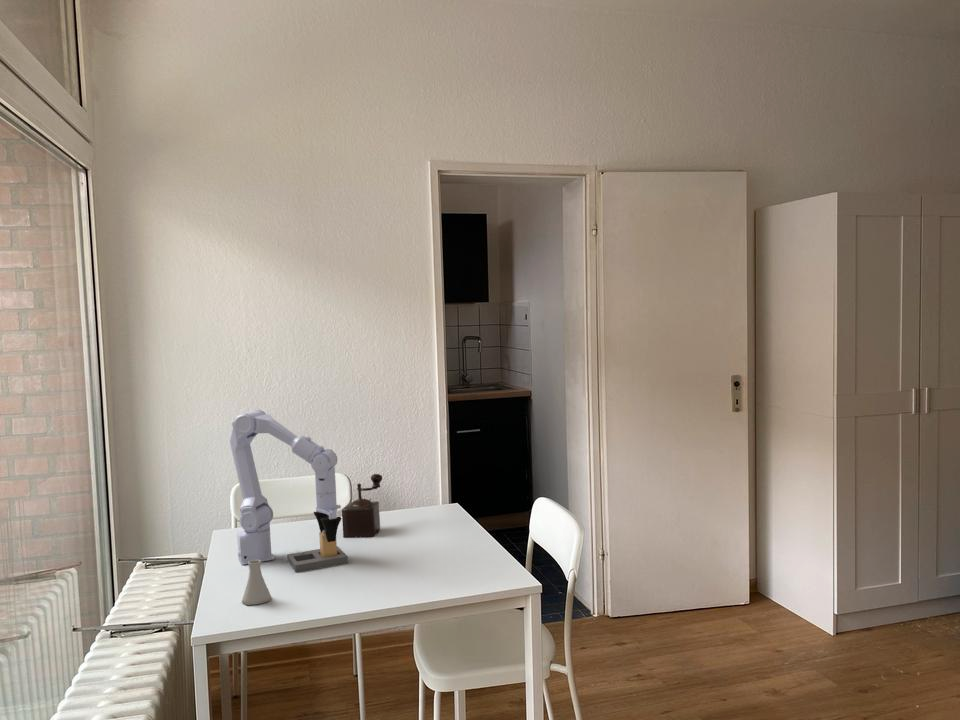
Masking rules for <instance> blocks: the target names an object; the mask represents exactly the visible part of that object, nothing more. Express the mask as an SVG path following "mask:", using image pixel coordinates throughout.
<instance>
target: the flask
mask: <svg viewBox="0 0 960 720" xmlns="http://www.w3.org/2000/svg"><path fill="white" fill-rule="evenodd" d="M261 564H262V562H261V560H251V561H249V562H248V564H247V565H248V569H249V573H248V579H247V582H246V586H245V589H244V592H243V597H242V598H241V599H242V600H241V603H242V604H244V605H245V606H250V605H251V606H252V605H254V606H255V605H260V604H264V603H267V602H270V600H271V599H272V595H271V592H270V590H269V588H268V587H267V584H266V582H265V580H264V577H263V573H262V570H261Z"/></svg>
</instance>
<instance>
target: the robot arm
mask: <svg viewBox="0 0 960 720" xmlns="http://www.w3.org/2000/svg"><path fill="white" fill-rule="evenodd" d="M231 426H232V431H231V435H230V439H229V444H230V448H231V452H232V457H233V462H234V466H235V470H236V476H237V479H238V482H239V483H238V484H239V487H240V492H241V496H242V502H241V505H240V508H239V511H240V517H239V524H240V526H241V528H242V530H243V531H238V532H237V557H238V560H239V562H240V564H241V566H243V565H244V566H245V565H248V562H249V561H251V560H261V563H262V562H267V561H274V560H276V559H275V556H274V554H273V553H272V542H271V541H272V540H271V522H272V520H273V519H274V511H273V509H272V507H271V506H270V504H269V502H268V499H267V498H266V497H265V495H263V494H262V490H261V487H260V485H261V484H260V481H259V477H258V472H257V468H256V464H255V459H254V455H253V450H252V447H251V443H252V441H253V440H254V439H255V437H256V436H257V435H258V434H269V435H271V436H273V437H274V438H276V439H277V440H279V441H281V442H283V443H285V444H286V445H288V446H290V447H291V452H292V453H293V454H294V455H296V456H297V457H299V458H301V459H302V460H303V461H305V462H306V463H308V464H310V466H311V468H312V470H313V471H314V475H315V476H314V478H315V498H316V508H315V510H316V511H313V515H314V517H315V518H316V521H317V523H318V527H319V528H318V529H319V533H321V532H323V531H322V530H325V533H326V538H327V541H328V542H333V541H335V539H336V540H337V534H338V528H339V525H340V523H341V521H342V516H337V510H338V509H341V507H342V506H341V505H340V504H337V489H336V488H337V485H336V470H335V469H336V467H335V466H336V465H337V464H338V456H337V454H336V453H335V452H334V451H333V449H331V448H327V449H326V448H325V447H324V446H323V445H321V446H320V445H319V444H317V443H316V442H314V441H312V437H310V436H306V435H302V436H297V435H296V434H295V433H293V432H292V431H290V430H289V429H288V428H286V427H285V426H284V425H283V424H281V423H280V422H278V421H277V420H276V419H274V418H273V416H272V415H271V414H268V413H266V412H265V411H264V410H261V409H255V410H253V411H248V412H242V413H240V414H238V415H237V416H236V417H235V419H233V421H232V422H231Z"/></svg>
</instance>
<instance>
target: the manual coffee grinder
mask: <svg viewBox="0 0 960 720" xmlns="http://www.w3.org/2000/svg"><path fill="white" fill-rule="evenodd" d="M382 480H383V475H381V474H380V473H373V474H372V475H371V476H370V481H371V482H372V487H365V488H362V484H361V483H357V484H356V486H357V488H356V490H357V492H358V494H357V495H358V499H356V500H354V501H352V502H349V503H347V505H345V506H344V507H343V508H342V509H341V521H342V537H343V538H346V539H347V538H350V539H353V538H354V539H355V538H374V537H375V536H376V535H377V534H378V533H379V532H380V531H381V520H380V519H381V518H380V517H381V515H380V514H381V513H380V502H379V501H371V500H372V498H369V499H367V498H363V497H362V492H367V491H373V490H377V489H378V488H381V485H380V484H381V482H382Z"/></svg>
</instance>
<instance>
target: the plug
mask: <svg viewBox="0 0 960 720" xmlns="http://www.w3.org/2000/svg"><path fill="white" fill-rule="evenodd" d="M322 531H323V532H318V533H319V534H318V536H319V549H320V555H321V557H327V556H333V555H337V546H338V545H337V544H338V543H337V538H336V539H335V541H333V542H328V541H327V538H326V533H325V530H322Z"/></svg>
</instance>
